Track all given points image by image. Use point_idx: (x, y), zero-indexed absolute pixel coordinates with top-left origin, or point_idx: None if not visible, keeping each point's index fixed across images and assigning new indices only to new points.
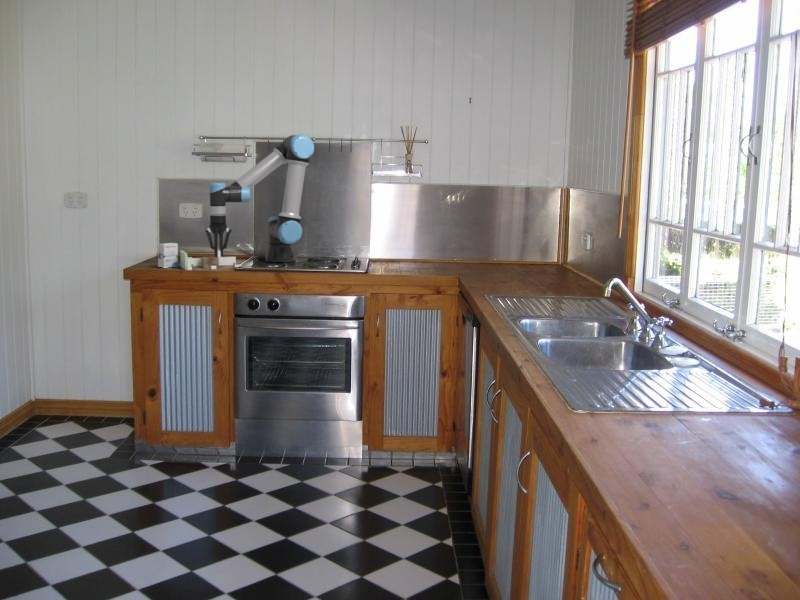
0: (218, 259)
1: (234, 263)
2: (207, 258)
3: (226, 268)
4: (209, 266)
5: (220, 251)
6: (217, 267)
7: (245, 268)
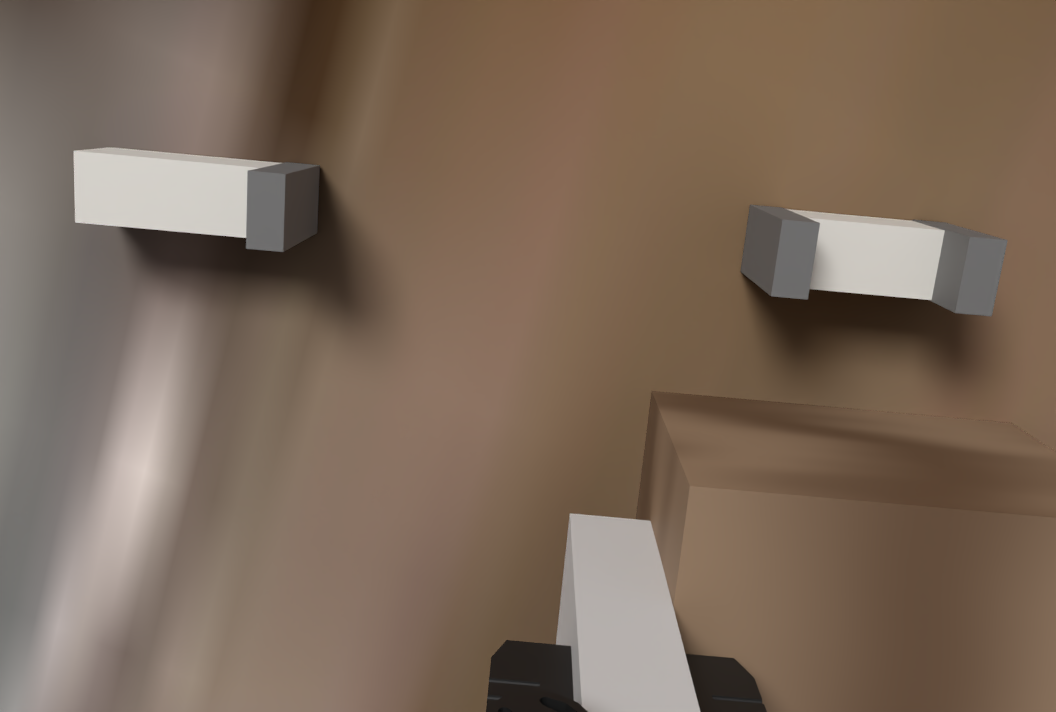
0: (687, 464)
1: (269, 169)
2: (1052, 515)
3: (507, 213)
4: (900, 423)
5: (591, 707)
6: (759, 208)
7: (36, 6)
